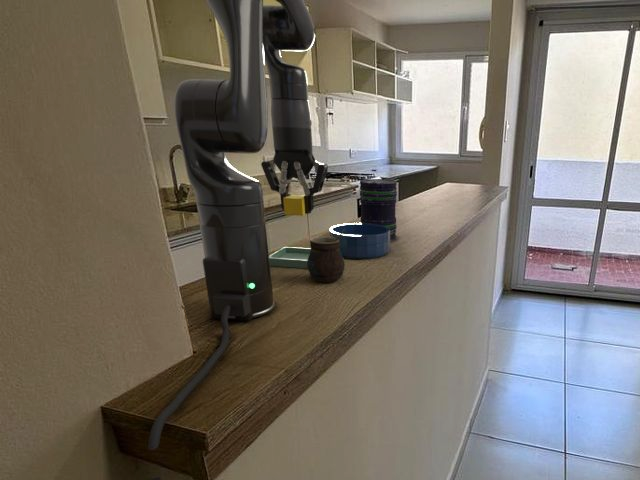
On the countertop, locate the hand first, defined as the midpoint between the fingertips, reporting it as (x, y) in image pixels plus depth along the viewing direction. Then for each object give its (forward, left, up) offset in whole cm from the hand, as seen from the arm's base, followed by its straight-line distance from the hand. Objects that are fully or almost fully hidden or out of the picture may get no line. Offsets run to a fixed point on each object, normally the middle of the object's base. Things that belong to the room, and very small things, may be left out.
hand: (298, 212), depth 95 cm
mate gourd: (-11, -10, -11) cm, 18 cm away
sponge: (0, 0, 0) cm, 0 cm away
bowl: (+11, -11, -11) cm, 19 cm away
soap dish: (0, 0, -11) cm, 11 cm away
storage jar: (+27, -12, -11) cm, 31 cm away
